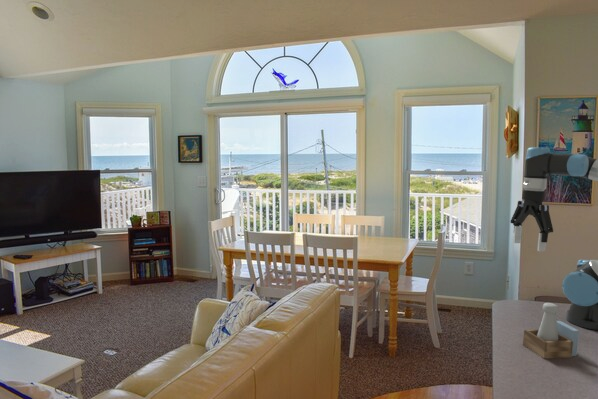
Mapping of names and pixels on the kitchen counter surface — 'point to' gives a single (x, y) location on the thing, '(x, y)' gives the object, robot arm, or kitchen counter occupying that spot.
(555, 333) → the salt shaker
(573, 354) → the pale blue lid slab
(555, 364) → the kitchen counter surface
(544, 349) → the open wooden crate
